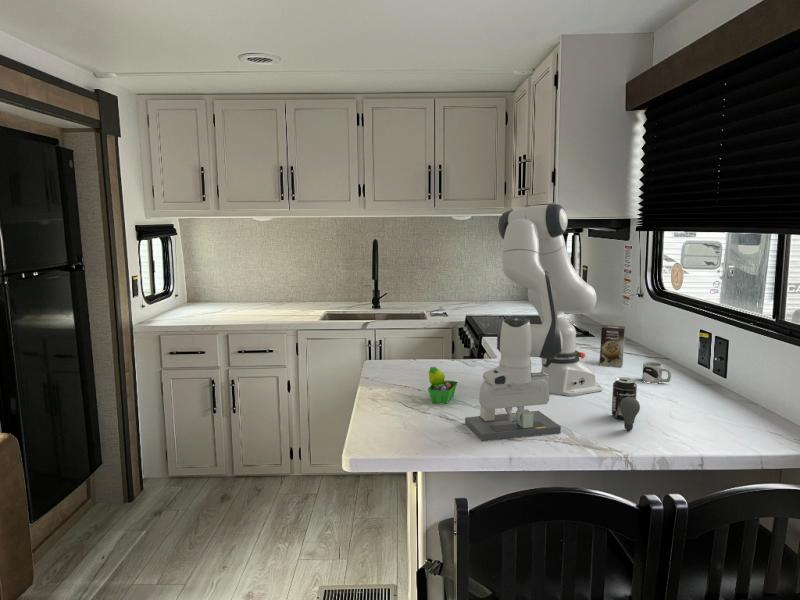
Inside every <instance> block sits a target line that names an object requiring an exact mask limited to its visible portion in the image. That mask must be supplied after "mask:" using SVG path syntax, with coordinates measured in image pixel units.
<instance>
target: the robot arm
mask: <svg viewBox="0 0 800 600" xmlns="http://www.w3.org/2000/svg"><path fill="white" fill-rule="evenodd" d="M568 220H569V219H568V215H567V212H566V209H565V208H564V207H563V206H562V205H561V204H559V203H549V204H540V205H539V204H536V205H530V206H526V207H521V208H518V209H514V210H513V209H510V210H507V211H505V212H503V213H502V214H501V216H500V217H499V219H498V226H497V227H498V233H499V236H500V237H501V238H502V239H503V243H502V251H501V253H502V254H501V260H502V261H501V265H502V271H503V273H504V275H505V276H506V278H508V279H509V280H510V281H511V282H513V283H514V284H517V285H518V286H522V287H524V288H526V289H527V299H528V302H529V303H530V305H532V306H533V308H534V309H535V311H536V312H537V314H538V316H539V319H540V321H541V324H539V323H538V324H537V323H531V322H530V319H528V318H527V317H525V316H520V315H510V316H507V317H505V318H504V319H503V320H502V323H501V327H500V328H499V329H497V333H496V349H497V350H498V352H499V353H500V359H499V364H498V366H496V367H494V368H491V369H489V370H487V371H484V372H483V373H482V378H483V380H484V381H482V383H481V385H480V389H479V397H478V398H479V400H478V401H479V405H481V406H482V407H483V408H484V409H486V410H488V409H495V410H498V409H504V410H505V412H506V414H507V413H508V420H509V421H510V422H514V421H520V415H521V414H522V412H523V410H524V409H525V407H529V406H540V405H541V406H542V405H547V404H548V403H549V402H550V394H555V395H561V396H566V397H567V396H568V397H574V396H579V395H580V396H581V395H585V394H590V393H591V394H592V393H597V392H603V386H602V385H601V384H599V382H597V381H596V375H595V373H594V371H593V370H592V369H591V368H589V366H588V365H586V364H585V363H584V362H582V361H581V360H580V359H585V358H586V353H585V352H583V351H578V350H577V349H576V339H577V337H576V336H577V330H576V328H575V326H574V325H573V324H572V323H571V322H570V321H569V320H568V319H567V316H566V314H567V313H568V314H572V315H573V314H574V315H580V314H588V313H590V312H592V311H593V309H595V307H596V304H597V300H598V299H597V293H596V291H595V288H594V287H593V286H592V285H590V284H588V283H587V282H586V280H584V279H583V278H582V277H581V276H580V274H579V273H578V272H577V271H576V270H575V268H574V266H573V265H572V262H571V260H570V256H569V252H568V249H567V245H566V241H565V237H564V235H563V234H564V233H565V232H566V231H567V230H568V229H567V228H568V223H569V222H568ZM565 313H566V314H565ZM531 358H539V359H541V371H540V372H532V360H531ZM513 408H516V410H515V411H516V412H514V413H515V414H512V413H513V412H512V411H513Z"/></svg>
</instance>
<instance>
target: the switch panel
mask: <svg viewBox="0 0 800 600" xmlns="http://www.w3.org/2000/svg"><path fill="white" fill-rule="evenodd" d="M529 411H530V412H532V413H533V427H530V428H522V427H521V426H520V425H519V424H518V423H517V421H514V422H510V421H509V420H508V413H507V412H506V413H498V414H495V420H492V421H485V420H483V419H482V418H481V417H480V415H477V416H467V417H464V425H465V426H467V428H469V429H470V430H471V431H472V433H474V435H475V436H476V437H478V439H480V441H481V442H486V441H488V440H489V441H496V440H497V439H499V440H507V438H508V439H515V438H514V437H518V438H523V437H522V436H528V437H532V436H531V435H538V436H543V435H542V434H547V435H555V433H557V434H561V432H562V431H561V429H562V426H561V425H559V424H558V422H555V421H554V420H553V419H551V418H549V417H548V416H547V415H546V414H544V413H542V412H541V411H540V410H532V411H531V410H529ZM511 413H512V414H515V413H516V412H511Z"/></svg>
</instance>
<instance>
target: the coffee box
mask: <svg viewBox="0 0 800 600" xmlns="http://www.w3.org/2000/svg"><path fill="white" fill-rule="evenodd" d="M625 332H626V326H622V325H610V324H602V325H601V331H600V333H601V334H600V349H599V364H598V365H599V366H601V367H602V366H603V367H610V366H612V367H614V368H621V367H622V366H623V365H624V353H625V352H624V349H625V348H624V347H625V337H626V336H625V335H626V333H625ZM612 367H611V368H612ZM622 368H623V367H622Z"/></svg>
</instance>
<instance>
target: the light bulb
mask: <svg viewBox="0 0 800 600" xmlns="http://www.w3.org/2000/svg"><path fill="white" fill-rule="evenodd" d="M640 405H641V404H640V402H639V401H638V399H637V398H636V399H635V398H633V397H626V398H623V399H622V400H621V402H620V405H619V407H620V410H621V413H622V414H623V419H624V420H623V425H624V428H623V429H625V430H626V431H627V432H630V431H632V430H633V429H634V423H635V419H636V417H637V415H638V414H639V412H640V411H641V406H640Z"/></svg>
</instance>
